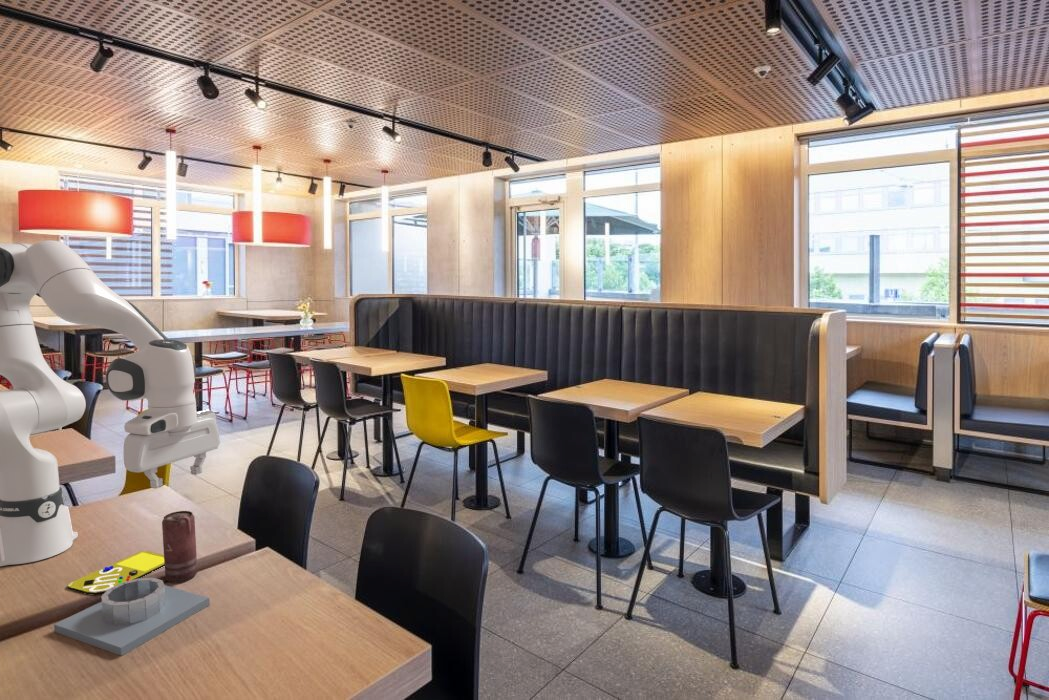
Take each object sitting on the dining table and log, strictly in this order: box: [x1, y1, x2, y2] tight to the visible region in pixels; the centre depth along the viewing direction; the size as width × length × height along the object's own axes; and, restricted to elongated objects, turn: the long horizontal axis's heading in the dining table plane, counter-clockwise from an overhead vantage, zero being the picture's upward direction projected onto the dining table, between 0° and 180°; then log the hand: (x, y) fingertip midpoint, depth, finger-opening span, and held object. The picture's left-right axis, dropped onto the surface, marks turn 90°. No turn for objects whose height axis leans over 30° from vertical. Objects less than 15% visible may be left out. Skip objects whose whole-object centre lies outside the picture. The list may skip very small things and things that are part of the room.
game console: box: [67, 550, 165, 596], centre depth 135 cm, size 18×11×2 cm, turn 160°
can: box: [161, 510, 198, 584], centre depth 133 cm, size 6×6×14 cm
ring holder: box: [100, 577, 166, 626], centre depth 118 cm, size 10×10×4 cm
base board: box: [53, 584, 211, 657], centre depth 118 cm, size 18×18×2 cm
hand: (177, 480), depth 131 cm, fingers open, 8 cm apart
